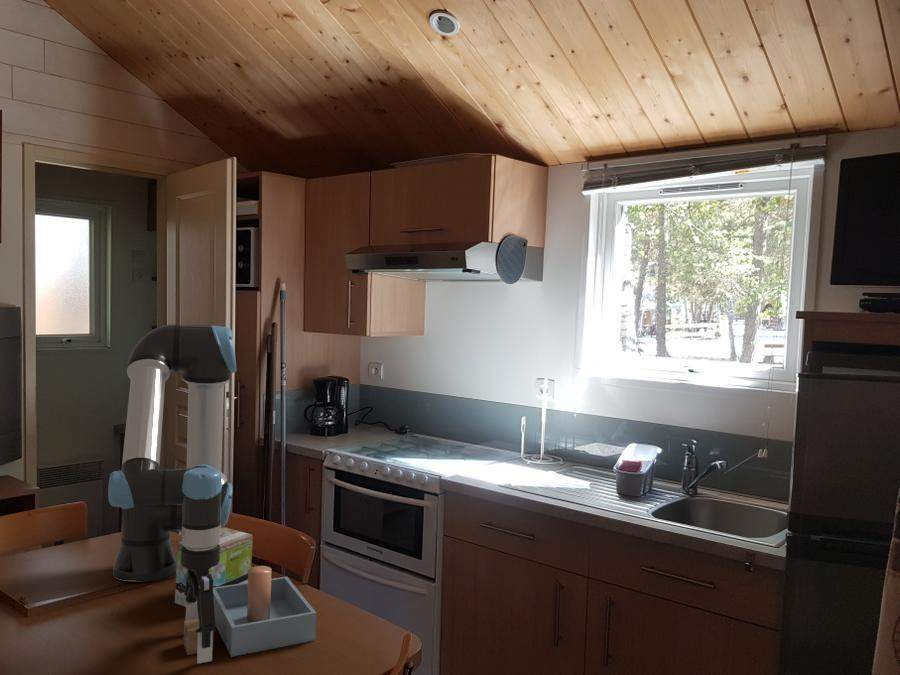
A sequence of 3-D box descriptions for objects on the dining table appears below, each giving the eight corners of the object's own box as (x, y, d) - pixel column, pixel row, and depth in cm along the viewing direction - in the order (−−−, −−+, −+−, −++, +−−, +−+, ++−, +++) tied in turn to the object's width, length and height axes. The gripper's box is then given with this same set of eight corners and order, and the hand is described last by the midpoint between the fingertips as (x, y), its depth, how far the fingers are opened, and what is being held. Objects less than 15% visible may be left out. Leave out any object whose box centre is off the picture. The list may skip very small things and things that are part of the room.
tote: (210, 613, 166) (210, 587, 166) (286, 601, 175) (286, 576, 175) (231, 656, 148) (232, 627, 147) (315, 640, 156) (316, 612, 156)
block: (183, 644, 152) (184, 621, 152) (208, 640, 154) (209, 616, 154) (187, 655, 148) (187, 631, 147) (212, 650, 150) (213, 626, 150)
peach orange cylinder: (244, 615, 164) (245, 567, 163) (266, 612, 166) (268, 564, 166) (250, 625, 160) (251, 575, 159) (272, 621, 162) (274, 572, 161)
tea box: (205, 614, 166) (207, 550, 165) (173, 604, 171) (175, 542, 170) (252, 592, 179) (253, 532, 179) (221, 583, 184) (222, 525, 183)
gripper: (172, 529, 159) (169, 625, 160) (192, 568, 137) (189, 679, 138) (207, 525, 162) (205, 619, 163) (233, 563, 141) (230, 670, 142)
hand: (198, 646), depth 151 cm, fingers open, 13 cm apart
